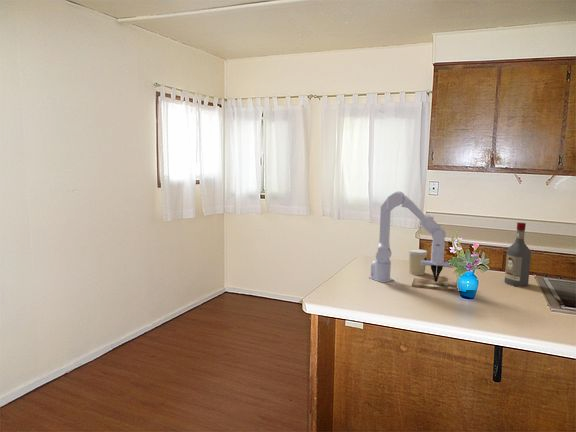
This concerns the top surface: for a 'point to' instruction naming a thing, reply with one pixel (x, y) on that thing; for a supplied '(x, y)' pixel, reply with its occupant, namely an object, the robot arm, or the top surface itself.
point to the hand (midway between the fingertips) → (435, 281)
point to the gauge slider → (443, 280)
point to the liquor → (518, 260)
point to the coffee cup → (417, 261)
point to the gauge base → (434, 285)
